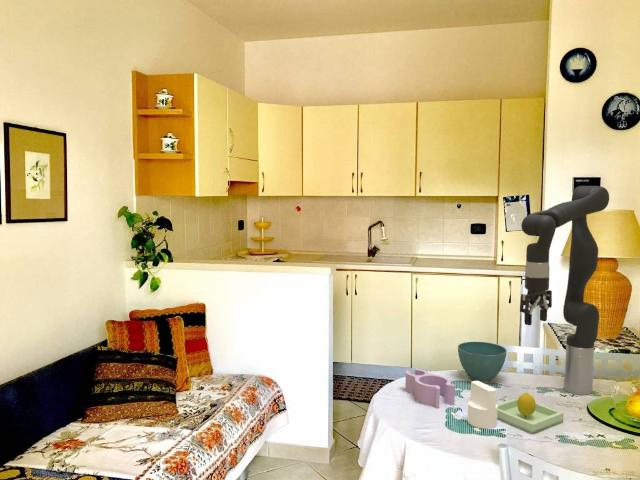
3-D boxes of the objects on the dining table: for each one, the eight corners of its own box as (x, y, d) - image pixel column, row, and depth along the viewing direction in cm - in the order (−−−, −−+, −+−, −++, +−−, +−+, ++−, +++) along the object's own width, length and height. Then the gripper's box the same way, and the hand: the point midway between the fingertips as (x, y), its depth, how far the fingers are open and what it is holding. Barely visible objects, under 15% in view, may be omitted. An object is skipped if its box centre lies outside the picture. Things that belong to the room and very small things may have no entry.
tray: (519, 405, 186) (520, 396, 186) (563, 422, 173) (563, 413, 173) (489, 415, 177) (489, 406, 177) (532, 434, 164) (532, 424, 164)
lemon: (513, 413, 177) (514, 389, 176) (530, 412, 178) (531, 389, 177) (521, 420, 172) (522, 396, 171) (538, 420, 172) (539, 396, 171)
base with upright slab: (461, 419, 175) (462, 382, 173) (483, 414, 178) (485, 379, 177) (480, 430, 166) (481, 392, 165) (503, 425, 170) (504, 388, 169)
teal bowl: (495, 390, 200) (497, 358, 198) (449, 379, 211) (450, 349, 209) (511, 377, 214) (512, 347, 213) (467, 367, 225) (468, 338, 224)
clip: (397, 390, 200) (397, 372, 199) (424, 385, 205) (424, 367, 205) (431, 410, 182) (432, 390, 181) (460, 403, 188) (461, 384, 187)
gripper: (539, 271, 187) (538, 317, 189) (514, 275, 179) (512, 323, 181) (559, 274, 181) (558, 321, 183) (534, 278, 173) (532, 328, 175)
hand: (535, 322), depth 182 cm, fingers open, 8 cm apart
